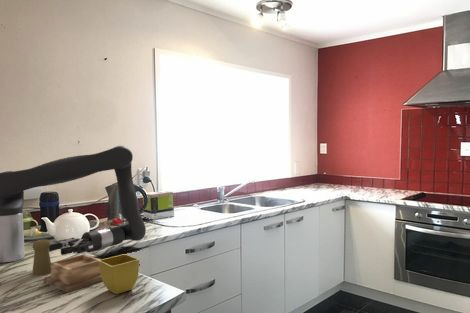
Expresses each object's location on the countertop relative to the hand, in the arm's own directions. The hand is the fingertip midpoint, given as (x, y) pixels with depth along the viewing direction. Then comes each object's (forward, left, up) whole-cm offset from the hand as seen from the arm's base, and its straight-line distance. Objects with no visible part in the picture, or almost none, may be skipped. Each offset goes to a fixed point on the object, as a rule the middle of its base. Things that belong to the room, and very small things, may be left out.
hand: (55, 250), depth 127 cm
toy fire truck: (-21, +34, -7) cm, 41 cm away
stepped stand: (+17, -2, -7) cm, 18 cm away
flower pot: (+35, +1, -7) cm, 36 cm away
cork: (0, -5, -7) cm, 8 cm away
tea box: (-42, +81, -7) cm, 92 cm away
